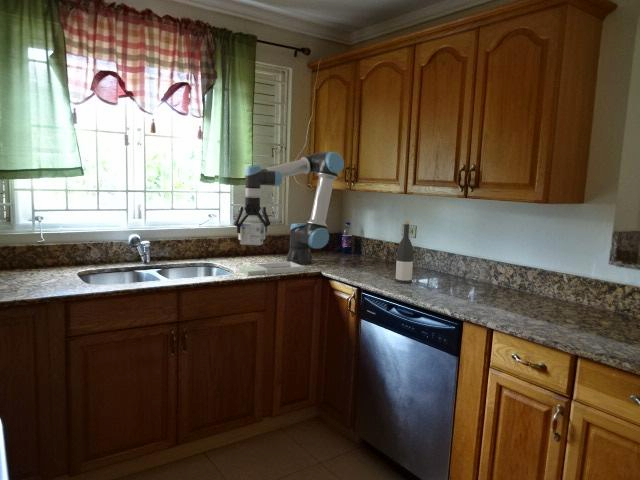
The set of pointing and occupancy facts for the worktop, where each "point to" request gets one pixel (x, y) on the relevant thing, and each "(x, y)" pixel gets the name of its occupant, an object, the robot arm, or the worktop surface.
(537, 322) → the worktop surface
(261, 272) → the board
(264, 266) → the tray
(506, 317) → the worktop surface
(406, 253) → the wine bottle
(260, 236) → the light bulb box
